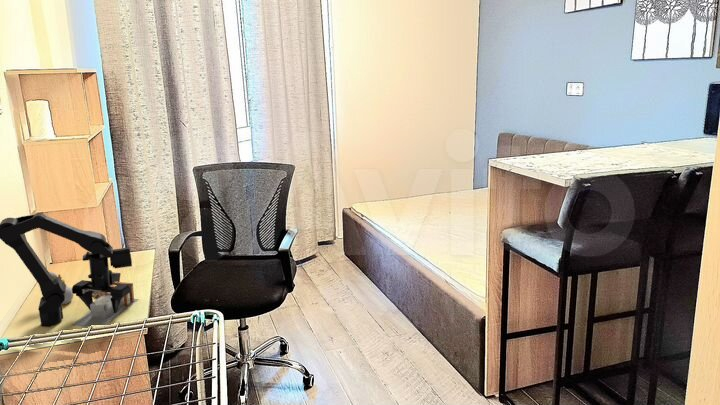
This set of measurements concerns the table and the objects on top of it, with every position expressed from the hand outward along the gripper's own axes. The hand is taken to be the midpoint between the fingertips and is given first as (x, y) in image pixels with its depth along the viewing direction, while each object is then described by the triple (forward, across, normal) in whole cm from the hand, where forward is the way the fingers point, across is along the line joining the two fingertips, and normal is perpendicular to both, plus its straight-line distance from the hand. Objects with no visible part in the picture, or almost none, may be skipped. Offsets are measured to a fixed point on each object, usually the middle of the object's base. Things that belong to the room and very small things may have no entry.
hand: (103, 311), depth 179 cm
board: (+2, 0, -2) cm, 2 cm away
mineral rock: (+2, +12, -15) cm, 20 cm away
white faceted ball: (+2, +21, -5) cm, 22 cm away
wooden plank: (+2, +6, -9) cm, 11 cm away
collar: (+2, 0, -7) cm, 7 cm away
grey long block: (+1, 0, -4) cm, 4 cm away
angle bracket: (+2, 0, -11) cm, 11 cm away
